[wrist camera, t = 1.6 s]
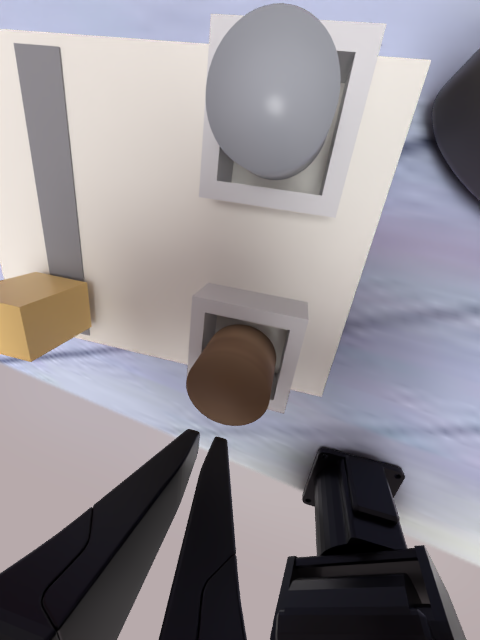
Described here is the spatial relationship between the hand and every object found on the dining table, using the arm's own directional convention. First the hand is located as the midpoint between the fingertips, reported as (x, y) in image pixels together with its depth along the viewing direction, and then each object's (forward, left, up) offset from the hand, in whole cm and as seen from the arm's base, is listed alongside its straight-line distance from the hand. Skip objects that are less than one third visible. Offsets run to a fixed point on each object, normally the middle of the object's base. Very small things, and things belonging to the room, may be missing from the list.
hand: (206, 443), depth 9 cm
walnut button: (0, 0, -6) cm, 6 cm away
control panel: (+5, +6, -11) cm, 13 cm away
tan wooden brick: (0, +12, -8) cm, 14 cm away
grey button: (+10, 0, -6) cm, 12 cm away
